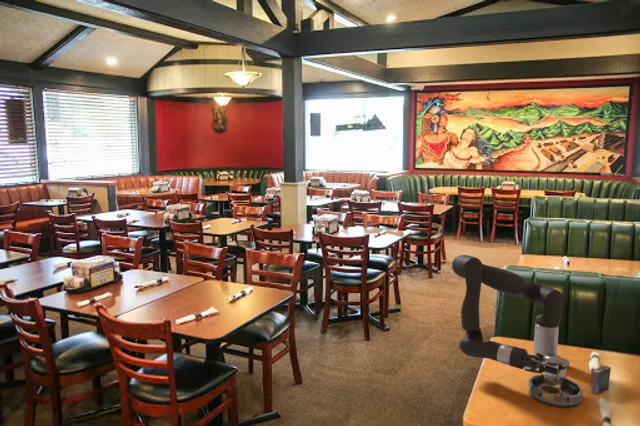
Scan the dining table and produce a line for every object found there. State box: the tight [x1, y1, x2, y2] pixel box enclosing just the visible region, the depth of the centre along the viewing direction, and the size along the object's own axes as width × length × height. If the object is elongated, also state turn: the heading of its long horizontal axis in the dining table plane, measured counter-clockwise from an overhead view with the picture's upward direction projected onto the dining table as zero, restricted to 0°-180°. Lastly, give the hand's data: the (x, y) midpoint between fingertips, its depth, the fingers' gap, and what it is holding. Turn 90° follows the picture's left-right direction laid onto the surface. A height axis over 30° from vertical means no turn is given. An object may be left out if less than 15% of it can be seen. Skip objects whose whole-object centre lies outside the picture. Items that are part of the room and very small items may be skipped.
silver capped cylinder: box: [543, 353, 563, 386], centre depth 184 cm, size 6×6×10 cm
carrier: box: [527, 357, 584, 409], centre depth 189 cm, size 18×18×12 cm
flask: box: [591, 363, 612, 396], centre depth 193 cm, size 9×3×11 cm, turn 121°
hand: (559, 369), depth 182 cm, fingers closed on silver capped cylinder, 4 cm apart
